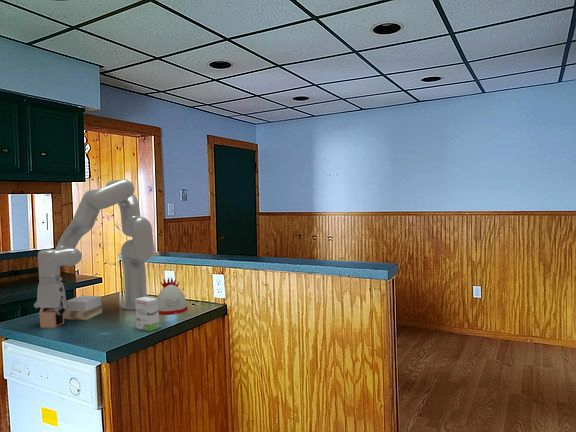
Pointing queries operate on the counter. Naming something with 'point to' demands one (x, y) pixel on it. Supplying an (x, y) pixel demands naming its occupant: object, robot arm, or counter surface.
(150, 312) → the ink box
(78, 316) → the maple base slab
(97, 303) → the grey top slab
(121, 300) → the counter surface
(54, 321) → the terracotta cube
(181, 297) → the white dome with spikes
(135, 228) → the robot arm
